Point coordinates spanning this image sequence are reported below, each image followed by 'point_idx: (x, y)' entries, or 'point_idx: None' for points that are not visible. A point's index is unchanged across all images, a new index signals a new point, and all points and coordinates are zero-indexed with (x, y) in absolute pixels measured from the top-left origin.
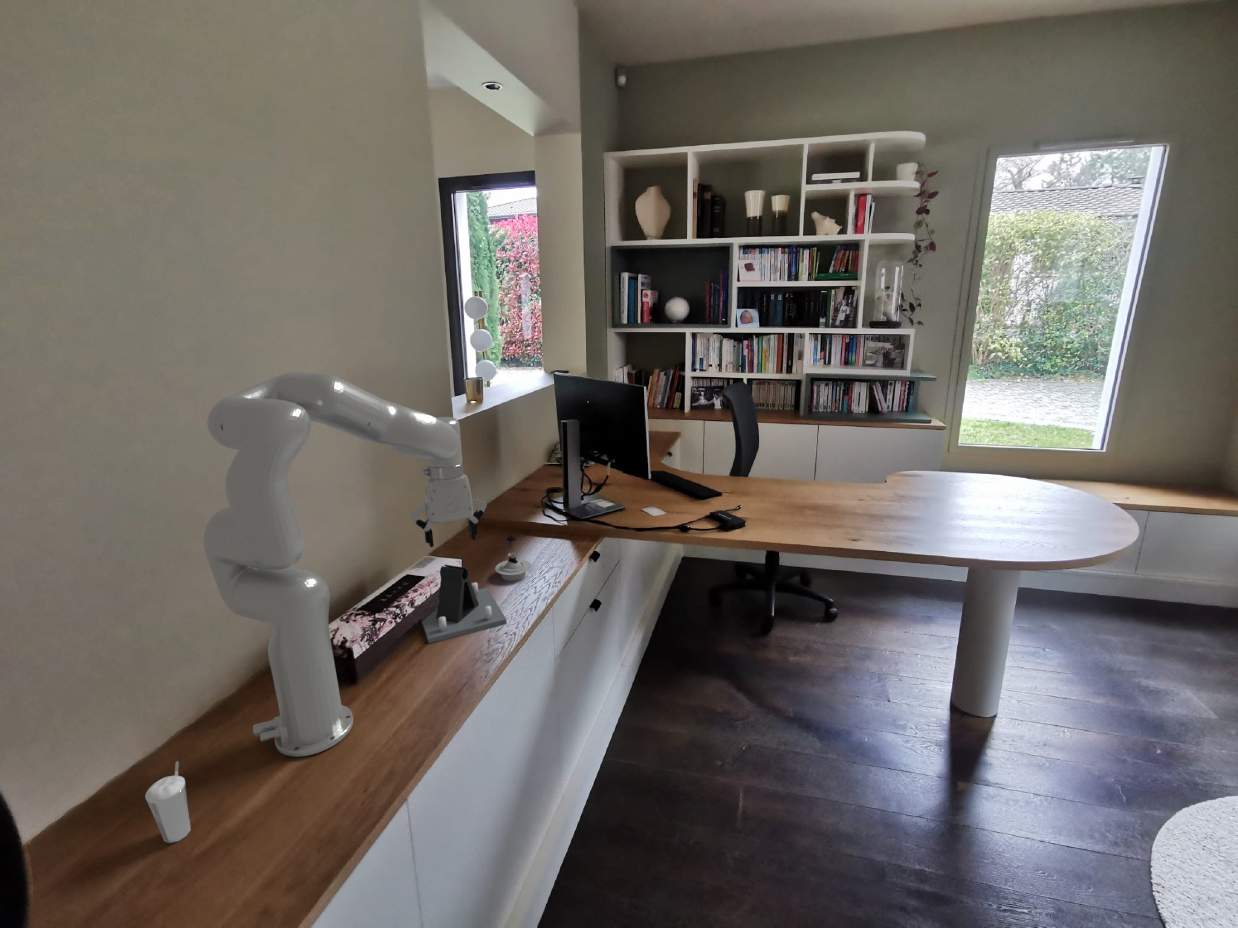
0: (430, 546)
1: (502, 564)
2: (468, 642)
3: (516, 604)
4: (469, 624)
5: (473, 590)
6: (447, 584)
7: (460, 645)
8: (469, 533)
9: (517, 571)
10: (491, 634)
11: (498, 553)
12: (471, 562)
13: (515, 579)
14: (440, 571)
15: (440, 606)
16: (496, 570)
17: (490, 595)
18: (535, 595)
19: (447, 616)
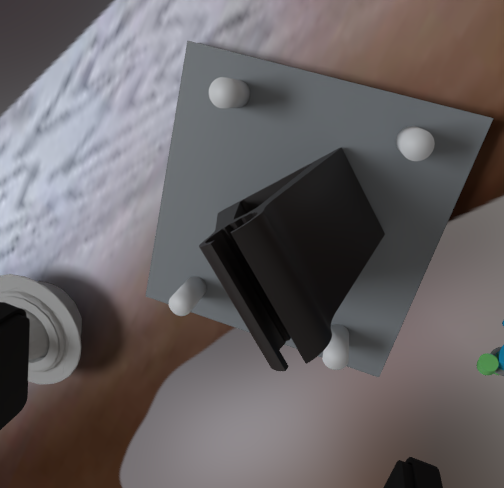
0: (435, 474)
1: (47, 364)
2: (370, 11)
3: (112, 146)
4: (313, 104)
5: (217, 220)
6: (320, 269)
7: (406, 11)
8: (9, 418)
9: (25, 293)
10: (274, 6)
11: (37, 454)
12: (118, 468)
13: (52, 287)
14: (328, 339)
15: (366, 242)
16: (78, 351)
17: (159, 242)
18: (39, 154)
19: (360, 194)
